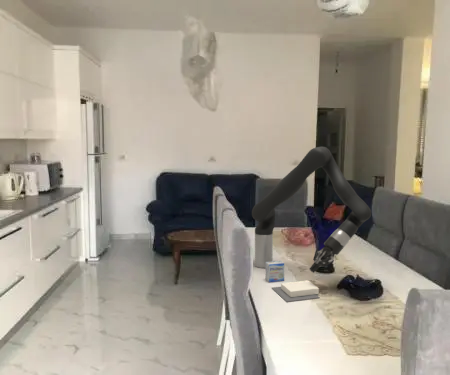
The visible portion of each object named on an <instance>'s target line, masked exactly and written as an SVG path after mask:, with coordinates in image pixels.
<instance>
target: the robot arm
mask: <svg viewBox="0 0 450 375" xmlns="http://www.w3.org/2000/svg"><path fill="white" fill-rule="evenodd" d="M320 168H322V169H323V171H324V172H325V173H326V174H327V176H328V178H329V180H330V182H331V184H332V187H333V190H334V191H335V193H336V195H337V197H339V199H340V200H341V201H342V203H343V204H344V205H345V206H347V207H348V208H349V209H350V210H351V212H350V213H349V215H348V216H347V217H346V219H345V220H344V221H343V222H342V223H341V224H340V225H339V226H338V227H337V229H335V230H334V231H333V232H332V234H331V235H330V236H328V238H327V239H326V240H325V241H324V243H323V245H324V247H322V248H321V249H320V250H318V249H315V252H314V256H313V258H312V259H313V260H312V261H313V262H314V263H313V264H311V266H310V267H309V271H310V272H311V273H313V274H314V273H315V272H317V270H318V269H319V268H321V267H322V268H324V267H326V266H329V265H330V264H332V263H334V259H333V258H334V257H335V255H336V256H337V255H339V254H340V253H341V252H342V250H344V248H345V247H346V245H348V243H349V241H350V240H351V239H352V238H353V237H354V235H355V234H357V231H358V230H359V228H360V227H361V226H362V225H363V224H364V223H365V222H366V221H368V220H369V219H370V218H371V217H372V210H371V208H370V206H369V205H368V204H367V203H366V202H365V201H364V200H363V199H362V198H361V197H360V196H359V194H357V192H356V191H355V189H354V188H353V187H352V185H351V184H350V182H348V180H347V179H346V177H345V176H344V173H343V172H342V171H341V169H340V166H338V164H337V161H336V160H335V158H334V155H333V154H332V152H331V151H330V149H329V148H327V147H326V146H317V147H313V148H311V149H310V150H309V151H307V153H306V155H305V156H304V157H303V158H302V160H300V162H299V164H297V166H295V167H294V168H293V169H292V170H291V171H290V172H289V173H287V174H286V175H285V176H284V177H283V178H282V179H281V180H280V181H279V182H278V183H277V184H276V185H275V186H274V187H273V189H272V190H271V191H270V192H269V193H268V194H267V195H266V196H265V197H264V198H262V200H260V201H258V203H256V204H254V206H253V208H252V210H251V216H252V218H253V220H255V221H256V222H258V224H257V226H256V227H255V229H254V266H255V267H256V268H261V269H265V267H266V264H265V263H266V262H273V254H274V253H273V251H274V250H273V247H274V245H273V244H274V242H273V241H274V240H273V237H274V236H273V235H274V229H275V224H276V223H275V222H276V221H275V220H276V208H277V207H278V206H279V205H281V204H283V203H284V202H286V201H288V200H289V199H291V198H292V197H294V195H295V194H296V193H297V192H298V191H300V190H301V188H302V187H303V185H304V184H305V182H306V181H307V179H308V178H309V177H310V175H312V174H313V173H314V172H316V171H317V170H318V169H320Z"/></svg>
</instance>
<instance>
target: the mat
mask: <svg viewBox="0 0 450 375" xmlns="http://www.w3.org/2000/svg"><path fill="white" fill-rule="evenodd" d="M271 290H272V291H274V292H275V293H276V294H277V295H278V296H279V297H280V298H281V299H283V300H284V302H285V303H291V302H293V303H294V302H300V301H307V300H309V301H310V300H315V299H320V296H319V295H318V294H315V295H307V296H299V297H290V296H289V295H288V294H287V293H285V292H284V291H283V290H282V289H281V286H274V287H271Z"/></svg>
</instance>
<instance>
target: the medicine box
mask: <svg viewBox="0 0 450 375" xmlns="http://www.w3.org/2000/svg"><path fill="white" fill-rule="evenodd" d="M265 264H266V267H265V268H264V270H265V273H264V274H265V281H267V282H268V283H277V282H284V281H285V262H283V261H282V260H277V261H274V260H273V261H272V262H266V263H265Z"/></svg>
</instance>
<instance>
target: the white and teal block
mask: <svg viewBox="0 0 450 375" xmlns="http://www.w3.org/2000/svg"><path fill="white" fill-rule="evenodd" d="M280 287H281V289H282V290H283V291H284V292H285V293H287V294H288V295H289V296H290V297H299V296H307V295H315V294H316V295H319V294H320V292H319V291H320V288H319V287H318V286H316V285H315V284H314V283H312V282H311V281H309V280H301V281H300V280H299V281H291V282H282V283H280Z"/></svg>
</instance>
